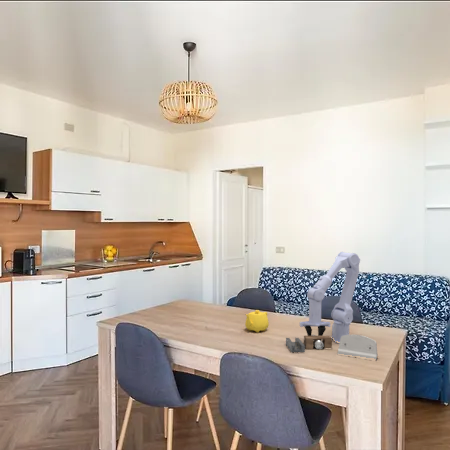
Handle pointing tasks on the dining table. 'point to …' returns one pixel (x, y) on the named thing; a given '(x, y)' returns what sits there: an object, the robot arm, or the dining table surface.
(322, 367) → the dining table surface
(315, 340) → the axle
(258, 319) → the teapot
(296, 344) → the v block
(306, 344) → the beam
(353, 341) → the hinge
